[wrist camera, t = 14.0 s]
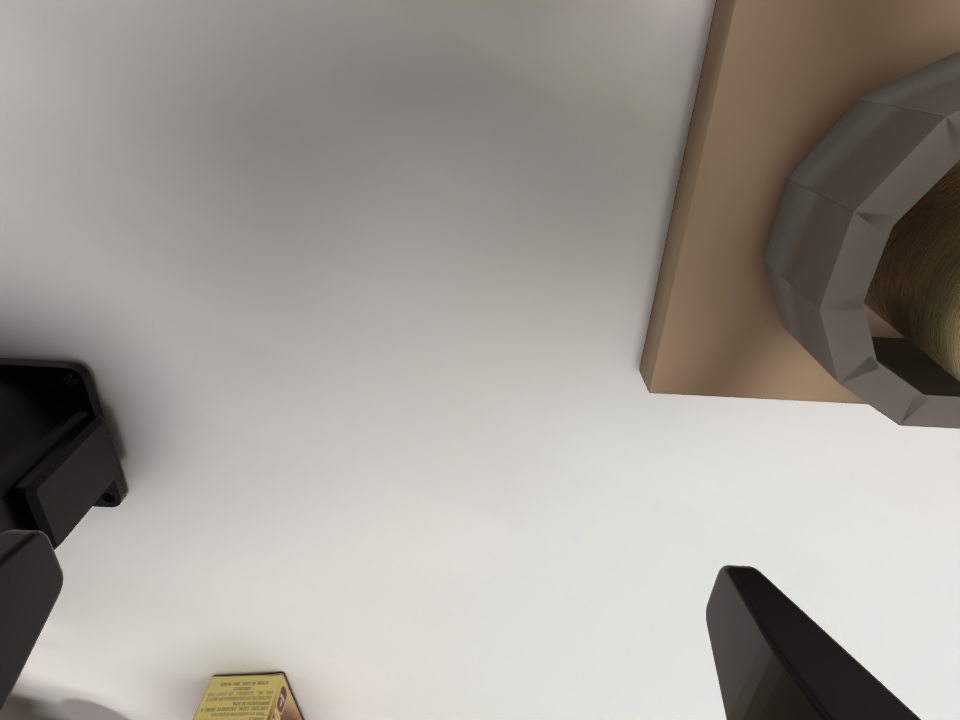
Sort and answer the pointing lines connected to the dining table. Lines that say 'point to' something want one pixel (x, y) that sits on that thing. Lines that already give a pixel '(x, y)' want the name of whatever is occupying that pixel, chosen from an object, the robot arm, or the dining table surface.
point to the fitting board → (806, 204)
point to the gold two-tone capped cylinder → (924, 274)
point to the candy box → (248, 699)
